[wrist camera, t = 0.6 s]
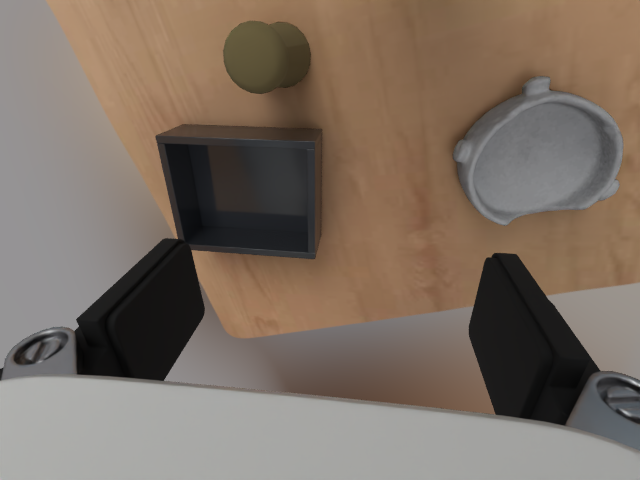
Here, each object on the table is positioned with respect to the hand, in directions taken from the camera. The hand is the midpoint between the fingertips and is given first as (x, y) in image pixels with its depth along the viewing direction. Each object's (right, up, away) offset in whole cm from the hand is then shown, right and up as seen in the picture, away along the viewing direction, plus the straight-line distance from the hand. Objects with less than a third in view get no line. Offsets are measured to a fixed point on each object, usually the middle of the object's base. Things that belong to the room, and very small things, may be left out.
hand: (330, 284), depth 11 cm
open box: (-8, +9, +32) cm, 34 cm away
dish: (+21, +11, +27) cm, 36 cm away
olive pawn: (-4, +21, +25) cm, 33 cm away
